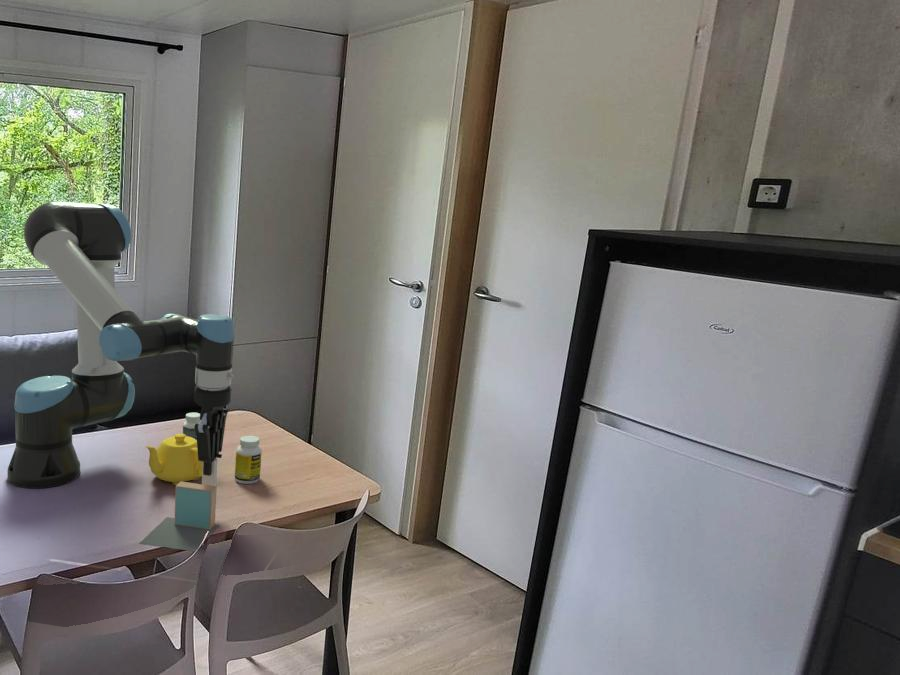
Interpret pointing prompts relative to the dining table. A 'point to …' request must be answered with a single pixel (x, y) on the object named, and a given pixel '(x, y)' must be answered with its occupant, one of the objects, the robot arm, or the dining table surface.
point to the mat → (176, 536)
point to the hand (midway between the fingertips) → (208, 486)
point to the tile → (195, 505)
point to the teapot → (176, 459)
